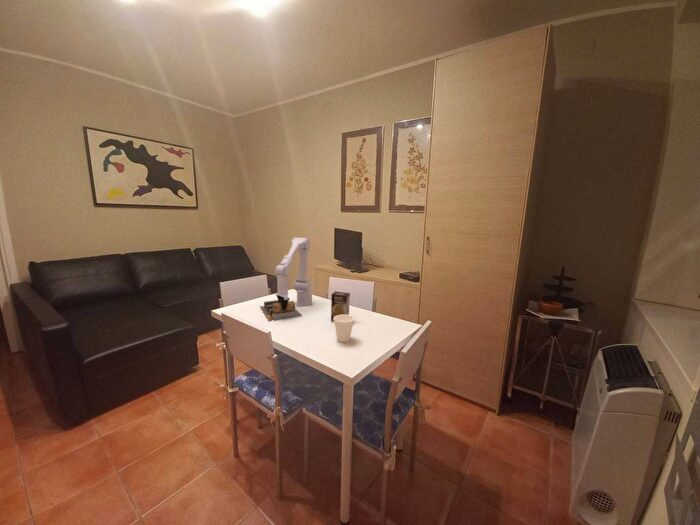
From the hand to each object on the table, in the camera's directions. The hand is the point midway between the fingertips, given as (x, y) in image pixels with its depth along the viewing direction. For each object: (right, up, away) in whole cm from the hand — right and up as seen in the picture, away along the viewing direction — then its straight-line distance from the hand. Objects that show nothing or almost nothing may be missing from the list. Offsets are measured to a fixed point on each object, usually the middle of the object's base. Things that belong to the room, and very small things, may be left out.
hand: (283, 308), depth 161 cm
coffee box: (+33, -7, -4) cm, 34 cm away
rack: (-4, -3, +7) cm, 9 cm away
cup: (+36, -11, -27) cm, 46 cm away
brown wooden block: (0, -4, +1) cm, 4 cm away
